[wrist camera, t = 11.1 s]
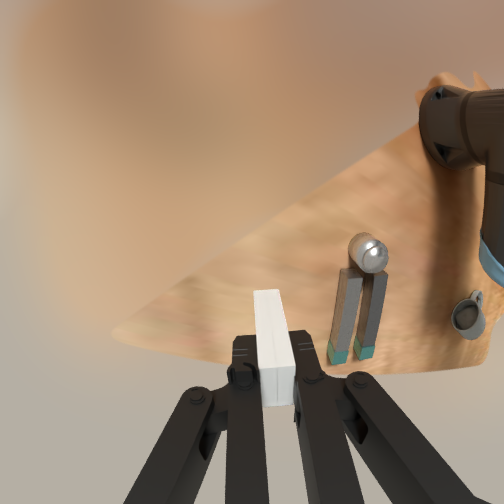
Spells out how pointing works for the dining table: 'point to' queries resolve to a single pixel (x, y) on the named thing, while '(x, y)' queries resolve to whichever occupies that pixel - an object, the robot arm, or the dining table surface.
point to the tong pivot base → (368, 296)
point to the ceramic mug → (469, 317)
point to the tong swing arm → (351, 303)
